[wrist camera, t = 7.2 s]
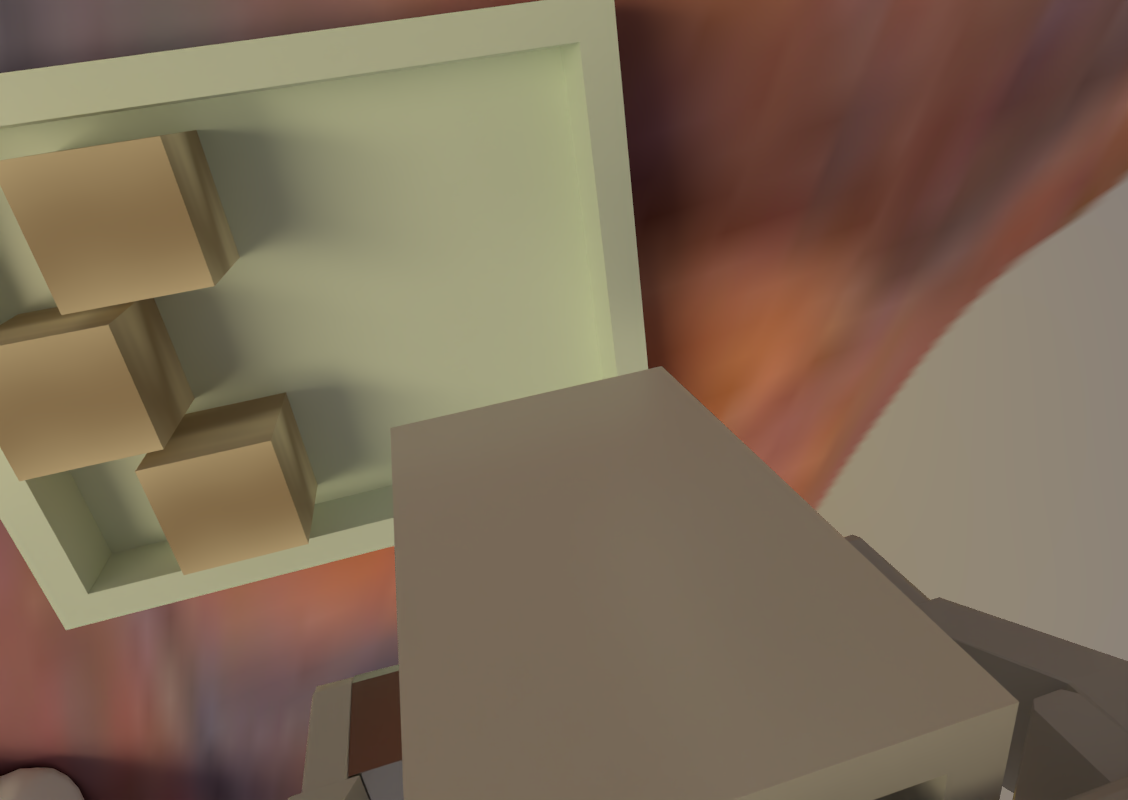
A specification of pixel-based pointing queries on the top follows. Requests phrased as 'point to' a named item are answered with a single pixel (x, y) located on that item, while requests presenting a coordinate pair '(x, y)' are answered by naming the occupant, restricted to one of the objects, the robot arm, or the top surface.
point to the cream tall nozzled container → (38, 785)
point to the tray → (349, 258)
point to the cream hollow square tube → (658, 620)
